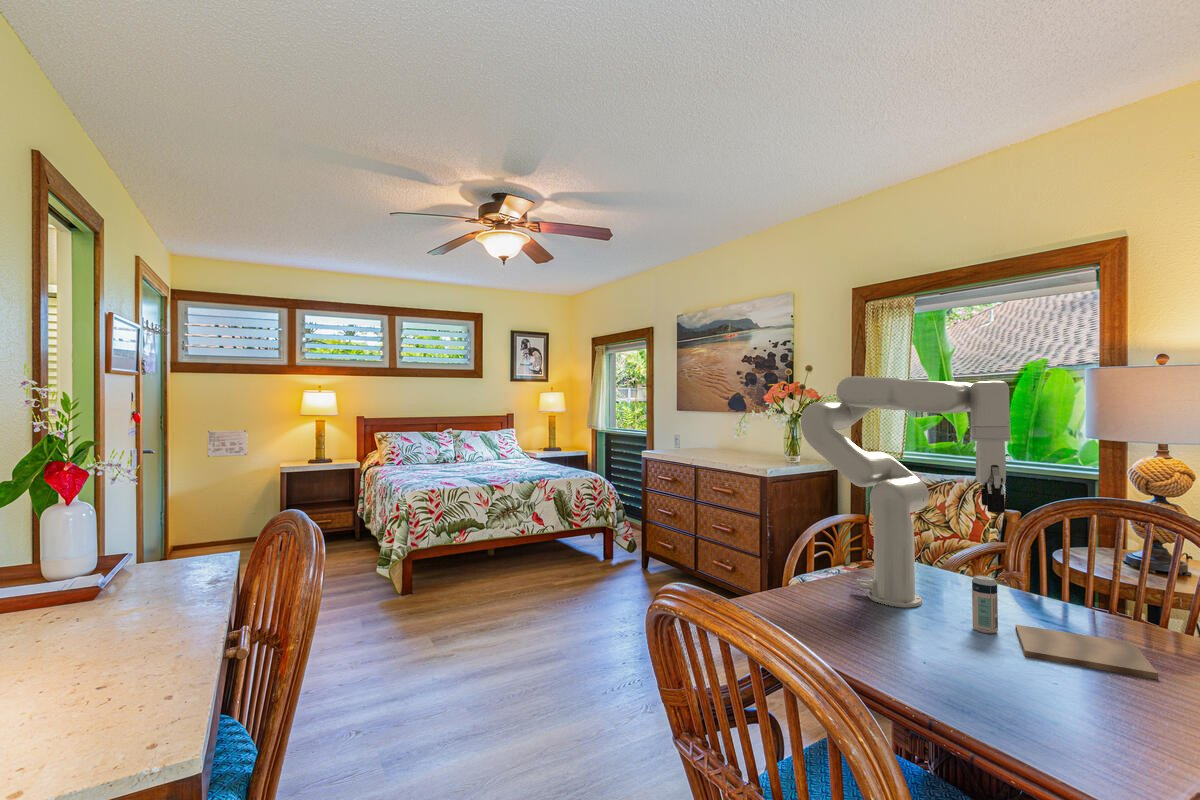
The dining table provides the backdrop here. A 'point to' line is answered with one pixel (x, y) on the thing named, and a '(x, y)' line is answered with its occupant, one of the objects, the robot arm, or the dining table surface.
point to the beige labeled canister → (984, 604)
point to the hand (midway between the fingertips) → (992, 508)
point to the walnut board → (1084, 651)
